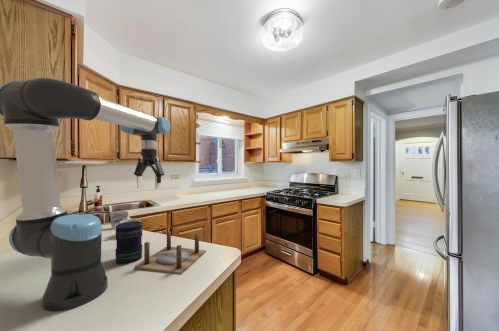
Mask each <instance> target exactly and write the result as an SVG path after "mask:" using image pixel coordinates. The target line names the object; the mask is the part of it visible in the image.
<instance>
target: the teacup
mask: <svg viewBox="0 0 499 331" xmlns="http://www.w3.org/2000/svg"><path fill="white" fill-rule="evenodd" d="M131 221H139V222H142V220H141V219H140V218H127V219H126V220H122V221H120V223H124V222H131ZM116 225H118V224H116ZM116 225H115V226H114V228H113V230H114V231H115V232H116Z"/></svg>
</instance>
